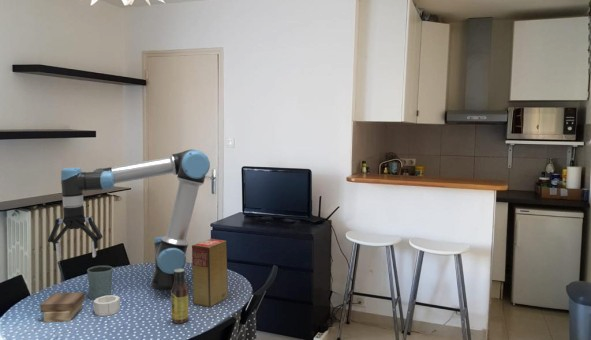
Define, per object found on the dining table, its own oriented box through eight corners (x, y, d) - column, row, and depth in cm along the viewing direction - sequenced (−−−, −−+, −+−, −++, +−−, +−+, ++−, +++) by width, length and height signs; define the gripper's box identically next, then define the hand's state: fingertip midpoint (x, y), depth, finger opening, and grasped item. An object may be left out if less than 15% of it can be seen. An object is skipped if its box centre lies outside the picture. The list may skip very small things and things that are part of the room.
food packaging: (211, 293, 202) (210, 238, 200) (228, 297, 198) (228, 240, 195) (191, 303, 190) (190, 244, 188) (210, 307, 186) (209, 247, 184)
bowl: (121, 306, 186) (121, 294, 186) (115, 315, 177) (115, 303, 177) (99, 307, 185) (98, 295, 185) (91, 316, 176) (91, 304, 176)
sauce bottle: (173, 317, 176) (172, 267, 174) (189, 317, 176) (189, 266, 175) (170, 324, 169) (169, 272, 168) (187, 324, 170) (186, 272, 168)
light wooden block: (82, 307, 186) (81, 298, 186) (69, 321, 172) (68, 312, 172) (59, 307, 185) (58, 299, 185) (44, 322, 171) (43, 313, 171)
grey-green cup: (84, 295, 199) (83, 268, 198) (107, 289, 206) (106, 263, 205) (94, 301, 192) (93, 273, 191) (117, 295, 199) (116, 268, 198)
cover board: (85, 299, 185) (84, 292, 184) (74, 311, 173) (73, 303, 173) (53, 300, 183) (53, 293, 183) (40, 312, 171) (40, 304, 171)
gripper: (108, 203, 189) (111, 253, 191) (44, 205, 186) (47, 256, 188) (103, 206, 182) (106, 258, 184) (36, 209, 178) (40, 262, 180)
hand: (76, 257), depth 186 cm, fingers open, 13 cm apart
